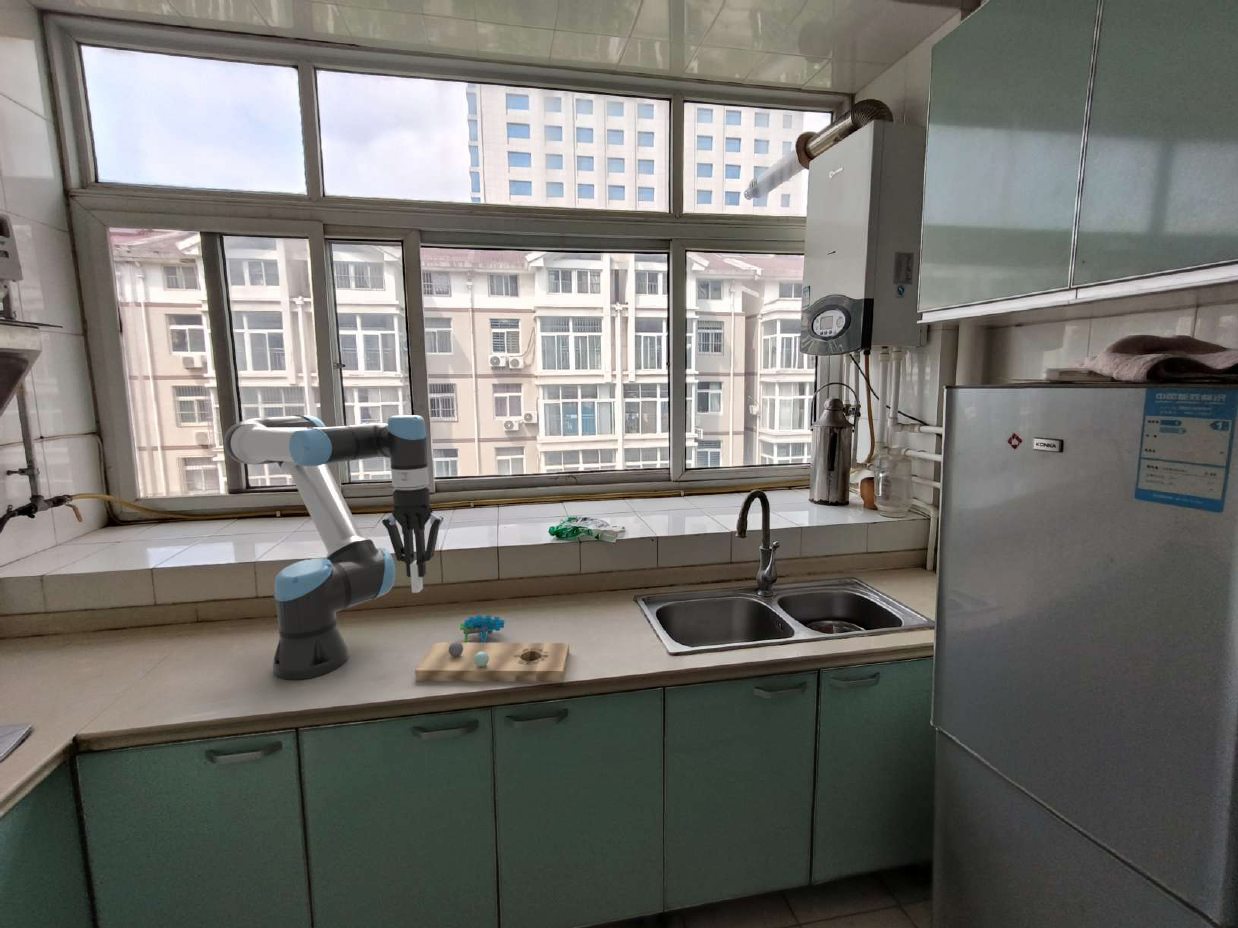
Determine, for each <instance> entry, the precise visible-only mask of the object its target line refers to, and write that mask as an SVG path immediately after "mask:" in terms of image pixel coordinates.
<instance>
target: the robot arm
mask: <svg viewBox="0 0 1238 928" xmlns="http://www.w3.org/2000/svg"><path fill="white" fill-rule="evenodd" d="M427 436H428V434H427V430H426V423H425V419H424V417H423V416H422V415H417V414H413V415H411V414H403V415H402V414H401V415H392V416H389V417H388V419H387V423H384V422H383V423H382V422H379V421H372V422H368V421H367V422H364V423H361V424H353V425H352V424H351V425H350V424H349V425H343V426H326V425H325V423H324V422H323V421H322V420H321V419H319V418H318V417H315V416H313V415H301V414H295V415H292V416H275V417H255V418H248V419H244V420H242V421H239V422H237V423H235V424H234V425H232V426H230V428H228V429H227V431H226V433H225V434H224V438H223V448H224V450H225V452H226V454H227V455H228V456H229V458H231V459H232V460H234V461H235V462H238V463H240V464H244V465H265V464H266V465H268V464H278V466H279V469H280V470H281V472H282V473H283V474H285V475H289V476H291V478H292V480H293V483H294V484H295V486H296V489H297V491H298V492H299V495H300V496H301V498H302V500H303V503H304V505H305V507H306V510H307V511H308V514H309V516H310V517H311V519H312V522H313V524H314V526H315V528H316V531H317V532H318V533H319V536H320V538H321V541H322V542H323V545H324V546H325V549H326V550H327V555H326V556H325V558H323V557H316V558H315V557H313V558H311V559H304V560H300V561H297V562H294V563H292V564H290V565H288V566H286V567H284V568H282V569H281V570H280V571H279V572H278V574H277V575H276V576H275V579H274V594H273V596H274V599H275V607H276V615H277V625H278V633H279V634H278V636H279V638H278V641H277V642H278V643H277V645H276V649H275V654H274V658H273V661H272V666H273V674H274V675H275V676H276V677H278V678H280V679H284V680H294V681H295V680H303V679H304V680H305V679H310V678H314V677H315V678H316V677H318V676H322V675H324V674H327V673H330V672H333V671H334V670H336V669H337V668H339V667H341V666H342V665H343V664H345V662H346V661H347V660H348V658H349V657H348V656H349V653H348V646H347V643H346V641H345V640H344V637H343V635H342V633H341V631H340V629H339V627H338V623H337V612H340V611H343V610H345V609H349V608H351V607H355V606H357V605H360V604H362V603H366V602H369V601H373V600H376V599H377V598H380V597H383V596H384V595H387V594H388V593H389V592H390V591H391V589H392V588H393V586H394V583H395V580H396V565H395V564H396V563H395V561H394V558H393V556H392V554H391V553H390V551H389V550H387V549H386V548H384V547H377V546H376V545H375V544H374V543H375V542H373V540H372V539H371V538H367V537H364V536H363V534H362V532H361V530H360V528H359V526H358V524H357V522H356V521H355V518H354V516H353V514H352V512H351V510H350V507H349V506H348V503H347V502H346V500H345V498H344V496H343V494H342V492H341V489H340V488H339V486H338V484H337V483H336V479H335V477H334V476H333V474H332V472H331V470H330V468H329V466H328V464H335V463H341V462H350V461H359V460H364V459H365V460H366V459H367V460H368V459H373V458H389V461H390V473H391V474H390V475H391V485H392V487H394V488H393V489H392V502H393V510H392V513H391V515H389V516H387V517H385V518H384V519H382V520H381V523H382V525H383V526H384V527H385V529H386V530H387V532H388V535H389V539H390V543H391V546H392V549H393V553H394V555H395V558H396V560H397V561H398V562H404V563H405V567H406V568H405V569H406V570H405V571H406V576H407V577H408V578H410V586H411V593H412V594H414V593H415V594H417V593H420V592H421V591H422V590H423V589H424V583H423V581H424V580H423V578H424V577H425V576H426V574H427V567H426V566H427V565H426V562H429V561H430V560H431V559H433V557H434V555H435V552H436V551H435V549H436V545H437V540H438V535H439V531H440V530H439V529H440V526H441V524H442V523H443V521H444V517H443V516H438V515H436V514H434V513H433V511H434V510H433V509H432V508H431V499H430V498H431V497H430V496H431V495H430V487H429V486H428V485H429V484H430V480H429V466H428V448H427V447H428V446H427V444H428V443H427V442H428V441H427ZM429 520H430V521H429ZM428 521H429V524H430V525H431V526H430V528H429V533H428V538H427V539H428V540H427V544H426V539H425V537H426V536H425V530H426V528H425V527H426V524H427V523H428ZM397 523H398V524H399V526H401V534H402V535H403V538H402V537H401V534H400V531H399V528H398V525H397ZM402 539H403V541H402ZM414 539H415V540H414ZM414 541H415V547H414ZM376 547H377V548H376ZM415 555H416V556H415Z"/></svg>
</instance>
